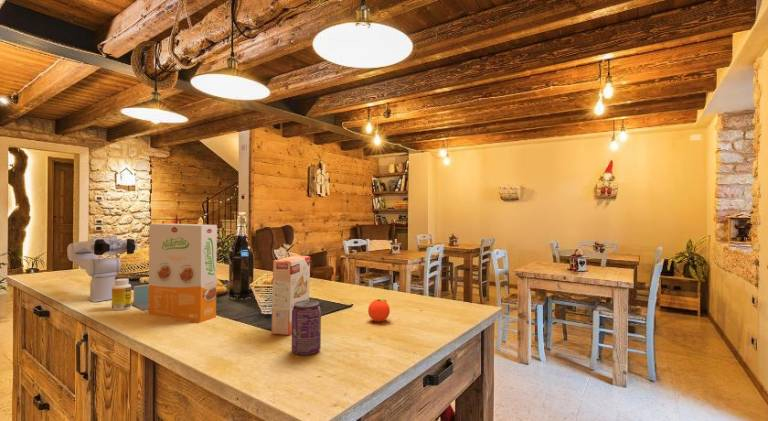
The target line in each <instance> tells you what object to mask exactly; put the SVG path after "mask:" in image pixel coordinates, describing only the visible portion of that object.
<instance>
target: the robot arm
mask: <svg viewBox="0 0 768 421" xmlns="http://www.w3.org/2000/svg"><path fill="white" fill-rule="evenodd" d="M137 249H138V243H136V242H135V239H134V238H127V239H126V240H123V239H119V238H118V236H117V235H110V236H108V237H102V236H92V237H91V238H90V239H88V240H87V241H85V240H84V241H78V242H77V241H76V242H73V243H69V244H68V246H67V248H66V253H67V258H68V260H69V261H71V262H74V263H75V264H76V265H77V266H79V267H80V269H81V270H85V272H86V274H87V275H88V276H89V277H91V279H90V282H89V283H90V290H89V294H90V295H89V296H87V297H86V299H88V300H90V301H91V302H93V303H95V302H104V301H110V300H111V301H112V286H114V285H115V280H116V276H117V275H118V274H119V272H120V271H121V269H122V263H121V259H120V258H119V257H118V256H117V257H112V258H110V257H109V258H100V256H103V255H104V254H107V255H110V256H115V255H119V254H122V253H124V252H126V255H133V254H135V250H137Z"/></svg>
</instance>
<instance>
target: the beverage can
mask: <svg viewBox="0 0 768 421" xmlns="http://www.w3.org/2000/svg"><path fill="white" fill-rule="evenodd" d="M321 324H322V310H321V307H320V302H319V301H317V300H310V299H309V300H304V301H298V302H295V303H294V308H293V310H292V334H291V351H292V353H293V352H294V353H295V354H296V355H297V354H298V355H300V356H307V355H313V354H315V353H316V352H318V351H320V349H321V346H322V344H321V343H322V340H321V339H322V337H321V334H322V332H321V331H322V328H321V327H322V325H321Z"/></svg>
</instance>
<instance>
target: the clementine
mask: <svg viewBox="0 0 768 421" xmlns="http://www.w3.org/2000/svg"><path fill="white" fill-rule="evenodd" d="M367 312H368V316H369V318H370V319H371V320H373V321H375V322H378V323H381V322H384V321H386V320H387V318H389V315H390V312H391V310H390V306H389V303H388V302H387V299H384V298H378V299H374V300H372V302H370V303H369V305H368V308H367Z"/></svg>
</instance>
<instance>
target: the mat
mask: <svg viewBox="0 0 768 421" xmlns="http://www.w3.org/2000/svg"><path fill="white" fill-rule="evenodd" d="M131 306H133V307H135V308H137V309H138V310H141V311H149V302H145V303H138V304H132V303H131Z"/></svg>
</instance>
